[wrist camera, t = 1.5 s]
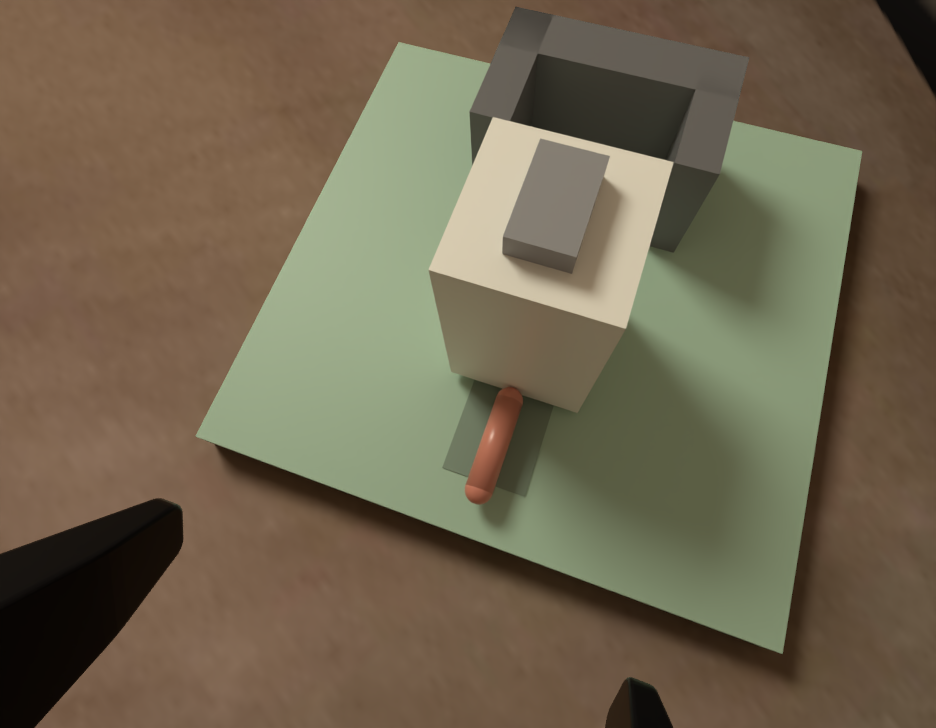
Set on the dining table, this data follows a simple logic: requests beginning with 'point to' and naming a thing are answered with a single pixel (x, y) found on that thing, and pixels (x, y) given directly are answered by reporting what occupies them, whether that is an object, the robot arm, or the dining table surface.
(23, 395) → the dining table surface
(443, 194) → the board
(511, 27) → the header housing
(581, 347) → the plug
